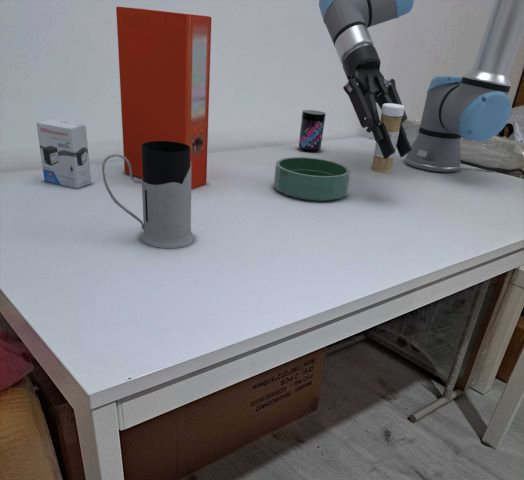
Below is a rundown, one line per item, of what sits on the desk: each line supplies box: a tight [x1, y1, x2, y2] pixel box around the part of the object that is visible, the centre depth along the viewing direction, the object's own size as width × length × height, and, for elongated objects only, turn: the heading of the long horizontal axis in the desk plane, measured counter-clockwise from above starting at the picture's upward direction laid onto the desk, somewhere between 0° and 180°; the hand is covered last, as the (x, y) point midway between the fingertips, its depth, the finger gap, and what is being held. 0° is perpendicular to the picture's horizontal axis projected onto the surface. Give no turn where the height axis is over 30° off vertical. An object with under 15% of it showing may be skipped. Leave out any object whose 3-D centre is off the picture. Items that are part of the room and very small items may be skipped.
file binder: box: [115, 6, 212, 190], centre depth 110 cm, size 8×17×32 cm, turn 58°
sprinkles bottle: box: [370, 103, 405, 174], centre depth 112 cm, size 5×5×13 cm
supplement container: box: [298, 109, 327, 153], centre depth 153 cm, size 7×7×10 cm
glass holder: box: [101, 141, 194, 249], centre depth 84 cm, size 9×14×15 cm, turn 107°
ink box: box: [35, 118, 92, 189], centre depth 107 cm, size 8×5×12 cm, turn 68°
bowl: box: [273, 156, 352, 202], centre depth 118 cm, size 17×17×6 cm
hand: (397, 154), depth 110 cm, fingers closed on sprinkles bottle, 4 cm apart
